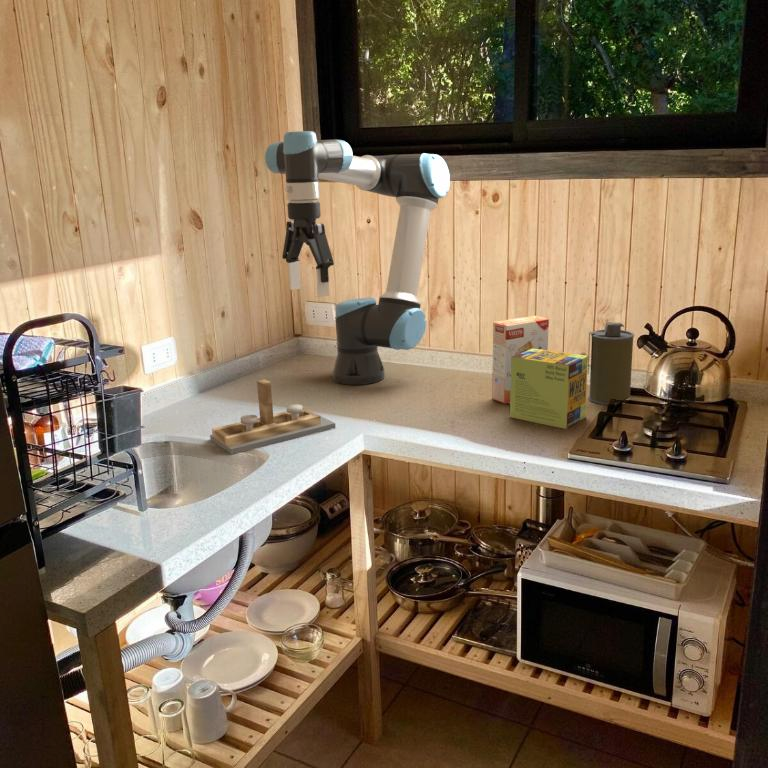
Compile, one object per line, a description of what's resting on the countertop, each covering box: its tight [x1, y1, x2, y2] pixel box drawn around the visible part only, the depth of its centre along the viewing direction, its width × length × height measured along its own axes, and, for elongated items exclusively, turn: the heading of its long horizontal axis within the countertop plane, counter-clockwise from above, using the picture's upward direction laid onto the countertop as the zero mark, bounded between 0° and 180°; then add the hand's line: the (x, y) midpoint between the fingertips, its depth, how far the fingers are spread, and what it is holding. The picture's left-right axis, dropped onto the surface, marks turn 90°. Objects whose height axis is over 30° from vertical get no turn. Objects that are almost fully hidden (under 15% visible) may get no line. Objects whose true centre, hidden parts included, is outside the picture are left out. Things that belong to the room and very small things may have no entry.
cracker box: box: [491, 315, 550, 405], centre depth 207 cm, size 14×6×21 cm, turn 119°
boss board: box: [209, 404, 336, 455], centre depth 189 cm, size 27×12×5 cm, turn 125°
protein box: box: [509, 349, 588, 429], centre depth 192 cm, size 10×15×16 cm
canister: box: [587, 321, 635, 406], centre depth 203 cm, size 11×10×20 cm
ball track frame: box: [211, 379, 321, 447], centre depth 187 cm, size 24×9×12 cm, turn 125°
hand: (309, 292), depth 190 cm, fingers open, 13 cm apart
